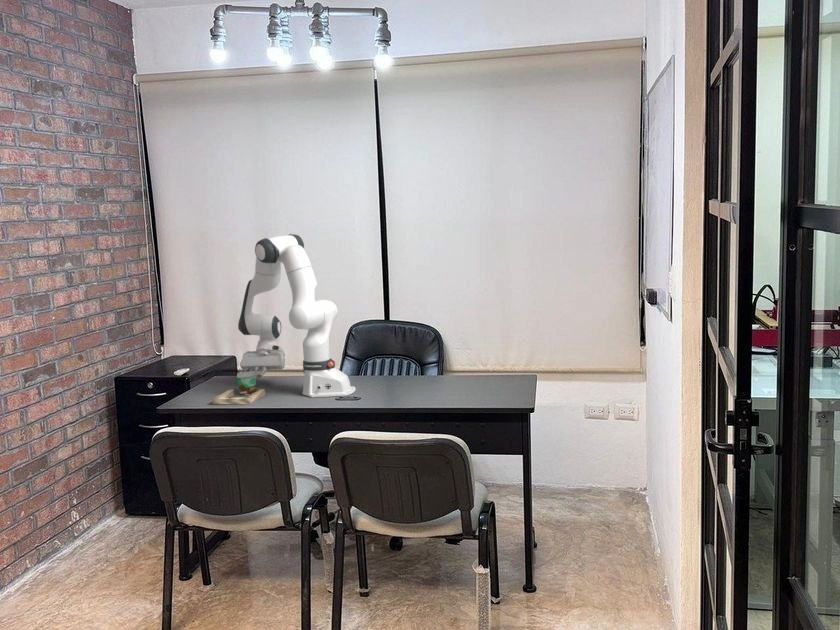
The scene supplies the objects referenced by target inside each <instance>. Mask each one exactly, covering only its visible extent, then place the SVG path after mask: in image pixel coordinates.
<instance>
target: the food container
mask: <svg viewBox="0 0 840 630" xmlns="http://www.w3.org/2000/svg"><path fill="white" fill-rule="evenodd" d="M236 373H237V374H236V379H237V383H238V389H239V396H246V395H245V394H250V395H251V394H252V393H255V392H256V391H257V377H256V375H257V370H256V369H255V368H248V370H242V372H236Z"/></svg>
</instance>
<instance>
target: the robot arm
mask: <svg viewBox="0 0 840 630" xmlns="http://www.w3.org/2000/svg"><path fill="white" fill-rule="evenodd" d="M254 254H255V256H256V258H255V266H254V267H255V268H254V269H255V271H254V276H253V278H252V279H249V281H248V282H247V284H246V288H245V292H244V296H243V300H242V301H243V302H242V305H241V307H242V308H241V312H240V315H239V318H238V324H237V327H238V328H237V329H238V331H239V332H240V333H242V334H243V335H244V336H259V340H258V342H257V344H256V348H255V351H253V350H252V351H250V350H249V351H246V352H244V353H243V354H242V358H241V361H240V363H239V366H240V368H241V370H242V371H247V370H248V368H255V369H256V370H257V375H256V379H258V378H261V379H263V378H264V376H265V374H266V373H267V372H268V371H271V370H272V371H275V370H276V371H282V370H283V369H285V365H286V352H285V350H284V349H283V347H282V346H281V345H277V344H278V343H279V340H280V335H281V332H282V322H281V321H280V319H279V318H278V317H277V316H276V315H272V314H271V315H270V314H261V313H254V312H253V311H252V310H253V306H254V305H253V304H254V300H255V296H257V295H259V294H262V293H266V292H270V291H272V290H274V289H276V288H277V287H278V286H279V284H280V281H281V275H282V274H281V273H282V271H281V270H282V267H281V266H282V264H283V266H284V269H285V273H286V276H287V279H288V283H289V286H290V290H291V295H292V304H291V308H290V310H289V314H288V320H289V323H290V325H291V326H292V327H293V328H294V329H296V330H304V331H305V330H307V333H306V336H305V338H304V339H303V340H302V352H303V353H302V354H303V360H302V370H303V371H302V372H303V378H304V379H303V388H302V392H301V393H302V395H303V396H307V397H309V398H326V397H345V396H349V395H352V394H354V393H355V392H356V389H357V388H356V387H355V386H354V385H353V386H351V382H350V378H349V376H348V375H347V374H346V373H344V372H343V371H341V370H340V369H338V368H337V367H336V359H332V358H331V353H330V352H331V350H330V337H331V336H330V335H331V331H332V329H333V328H332V327H333V324H334V322H335V320H336V319H337V317H338V313H339V309H338V307H337V305H336V303H335V302H333V301H332V300H329V299H317V300H316V298H315V297H316V296H315V292H316V289H317V287H318V280H317V277H316V275H315V271H314V269H313V266H312V263H311V260H310V258H309V256H308V254H307V251H306V250H305V244H304V241H303V238H302V237H301V236H300V235H298V234H293V233H292V234H291V233H289V234H283V235H281V234H280V235H274V236H271V237H267V238H266V237H264V238H262V239H260V240H258V241H257V242H256V243H255V247H254ZM260 371H261V372H260Z"/></svg>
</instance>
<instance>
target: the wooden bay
mask: <svg viewBox="0 0 840 630" xmlns="http://www.w3.org/2000/svg"><path fill="white" fill-rule="evenodd" d="M233 395H234V396H235V389H231V388H230V389H227V390H226V391H224V392H222V393H220V394H218V395H217V396H215V397H213V398H212V399H211V401H212V405H213V404H250V405H251V404H253V403H255V402H256V401H257V399H258V400H259V399H261V398H262V397H264V396H265V395H266V390H265V388H260V389H258V390H256V392H255V393H253V394H250V395H247V396H246V397H233ZM263 395H264V396H263ZM231 396H232V397H231ZM229 397H230V398H229ZM260 397H261V398H260ZM255 400H256V401H255ZM254 401H255V402H254ZM252 402H253V403H252Z"/></svg>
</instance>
